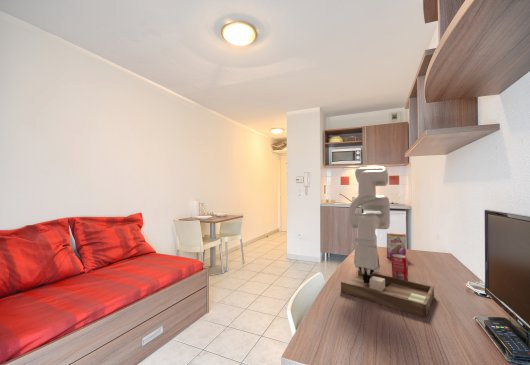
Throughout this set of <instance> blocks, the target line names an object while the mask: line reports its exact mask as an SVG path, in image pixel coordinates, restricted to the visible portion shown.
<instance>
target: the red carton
mask: <svg viewBox="0 0 530 365" xmlns="http://www.w3.org/2000/svg"><path fill="white" fill-rule="evenodd" d="M391 277H393V278H398V279H402V280H407V281H409V261H408V258H407V255H406V256H405V255H401V254H393V255H392V258H391Z"/></svg>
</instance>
